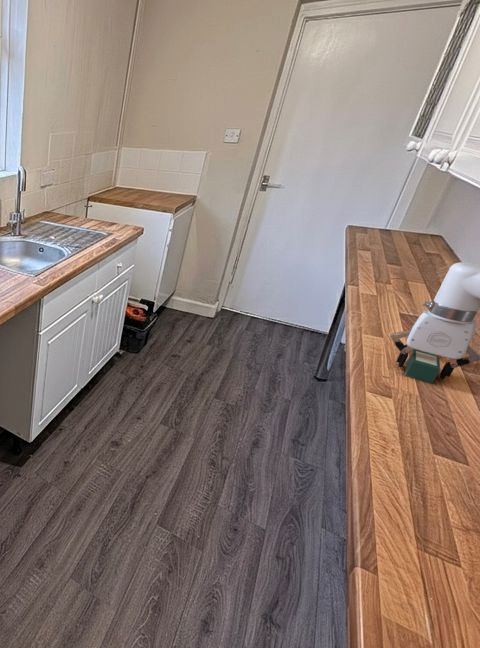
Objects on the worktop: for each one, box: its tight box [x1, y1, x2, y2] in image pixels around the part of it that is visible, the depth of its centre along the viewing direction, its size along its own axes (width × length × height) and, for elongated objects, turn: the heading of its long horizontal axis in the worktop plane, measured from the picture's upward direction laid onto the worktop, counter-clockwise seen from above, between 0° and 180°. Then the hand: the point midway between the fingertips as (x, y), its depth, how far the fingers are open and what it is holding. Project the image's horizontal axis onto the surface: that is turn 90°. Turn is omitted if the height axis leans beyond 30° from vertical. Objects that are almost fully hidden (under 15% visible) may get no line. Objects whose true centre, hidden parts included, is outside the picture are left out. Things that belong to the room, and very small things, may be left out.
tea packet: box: [404, 349, 441, 384], centre depth 109 cm, size 9×5×5 cm, turn 135°
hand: (420, 370), depth 110 cm, fingers open, 7 cm apart
